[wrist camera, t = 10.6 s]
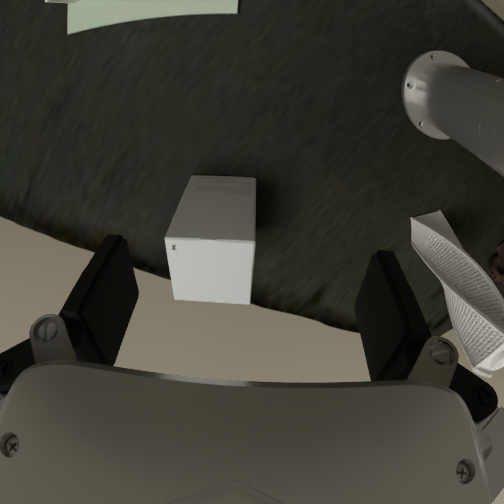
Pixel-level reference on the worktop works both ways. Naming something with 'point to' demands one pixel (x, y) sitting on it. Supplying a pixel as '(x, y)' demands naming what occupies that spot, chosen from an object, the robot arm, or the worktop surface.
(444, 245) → the skyscraper
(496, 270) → the brown irregular piece
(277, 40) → the worktop surface
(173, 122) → the worktop surface
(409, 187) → the worktop surface
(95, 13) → the pitch
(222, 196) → the supplement box
